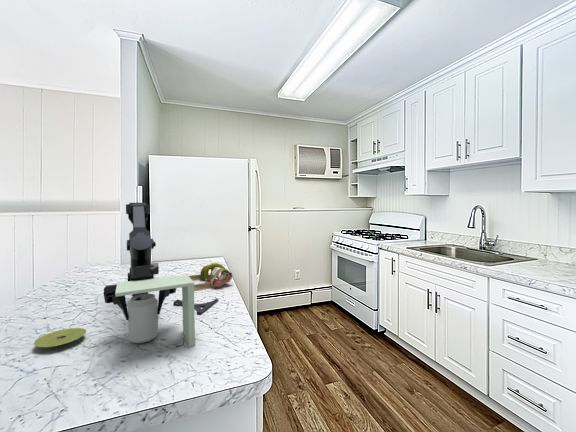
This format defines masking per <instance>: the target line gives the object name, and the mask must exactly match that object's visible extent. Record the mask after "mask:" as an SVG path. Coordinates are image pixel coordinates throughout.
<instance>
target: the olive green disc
mask: <svg viewBox="0 0 576 432" xmlns="http://www.w3.org/2000/svg"><path fill="white" fill-rule="evenodd" d="M86 333H87V330H86V329H85V328H81V327H74V328H73V327H71V328H63V329H59V330H55V331H53V332H49V333H46V334H44V335H41V336H40V337H39V338H37V339H36V340H35V341H34V342H33V345H34V346H35V347H37V348H52V347H58V346H61V345H66V344H69V343H70V342H74V341H77V340H79V339H80V338H82V337H84V335H86Z"/></svg>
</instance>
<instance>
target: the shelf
mask: <svg viewBox="0 0 576 432" xmlns="http://www.w3.org/2000/svg"><path fill="white" fill-rule="evenodd" d="M189 276H190V275H188V274H186V273H185V274H179V275H169V276H162V277H161V276H160V277H154V278H152V279H144V280H136V281H128V280H127V281H120V282H117V287H116V292H115V297H117V296H124V295H125V296H130V295H131V296H132V294H138V293H145V292H148V293H151V292H159V290H166V289H173V288H176V289H179V288H181V292H182V293H181V297H182V300H181V301H182V305H183V306H182V333H183V334H184V335H183V336H184V337H185V340H186V343H187V345H188V347H189V348H190V347H194V346H196V331H195V330H196V327H195V325H196V322H195V309H194V304H195V291H194V284H195V282H194V281H192V280H191V278H190V277H189Z"/></svg>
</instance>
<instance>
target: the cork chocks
mask: <svg viewBox="0 0 576 432" xmlns="http://www.w3.org/2000/svg"><path fill="white" fill-rule="evenodd" d="M188 276H189V277H190V278H191V280H192V281H193V282H194V281H200V280H207V279H206V278H204V279H201V278H200V277H199V276H200V273H199V274H193V275H192V274H191V275H188ZM215 288H217V287H213V286H212V285H211V283H210V282H202V283H194V292H195V291H200V290H208V289H215Z"/></svg>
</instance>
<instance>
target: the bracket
mask: <svg viewBox="0 0 576 432" xmlns="http://www.w3.org/2000/svg"><path fill="white" fill-rule="evenodd" d="M216 303H219V298H214V299H213V300H211V301H208V302H204V303H194V311H196V316H197V315H200V316H202V315H203V314H204V313H206V312H207V311H208V310H209V309H210V308H212V307H213V306H214V305H216ZM173 307H183V305H182V300H180V299H176V300H174V301H173Z"/></svg>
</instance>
